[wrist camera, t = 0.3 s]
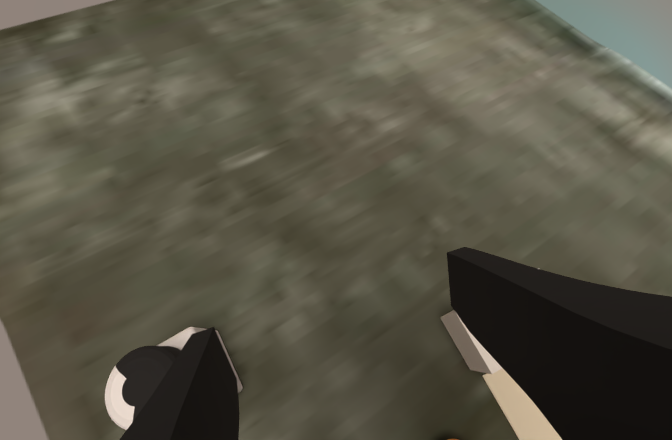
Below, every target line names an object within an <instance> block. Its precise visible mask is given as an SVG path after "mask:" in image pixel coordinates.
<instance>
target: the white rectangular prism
mask: <svg viewBox="0 0 672 440" xmlns="http://www.w3.org/2000/svg"><path fill="white" fill-rule="evenodd" d="M538 269H539V268H538ZM440 318H441V320H442V322H443V324H444V325H445V327H446V329H447V331H448V332H449V334H450V336H451V338H452V339H453V341H454V343H455V345H456V346H457V348H458V350H459V351H460V353H461V355H462V357H463V358H464V360H465V362H466V364H467V365H468V367H469V369H470V370H473V371H478V372H484V373H489V374H493V373H495V372H497V371H498V370H500V369H502V367H501V366H500V365H499V364H498V363H497V361H496V360H495V359H494V358H493V357H492V356H491V355H490V354H489V353H488V352H487V351H486V350H485V348H484V347H483V346H482V345H481V344H480V343H479V342H478V341H477V340H476V339H475V337H474V336H473V335H472V334H471V333H470V332H469V330H468V329H467V328H466V326H465V325H464V323H463V322H462V321H461V319H460V318H459V316H458V315H457V313H456V312H455V310H453V311H451V312H449V313H447V314H445V315H444V316H442V317H440Z"/></svg>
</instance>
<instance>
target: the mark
mask: <svg viewBox="0 0 672 440" xmlns="http://www.w3.org/2000/svg"><path fill="white" fill-rule="evenodd" d="M482 377H483V378H484V380H485V382H486V384H487V385H488V387H489V389H490V391H491V392H492V394H493V396H494V397H495V399H496V401H497V403H498V404H499V406H500V408H501V409H502V411H503V413H504V415H505V416H506V418H507V420H508V421H509V423H510V425H511V427H512V428H513V430H514V432H515V434H516V435H517V437H518V439H519V440H562V439H561V437H560V436H559V435H558V433H557V432H556V431H555V429H554V428H553V427H552V426H551V424H550V423H549V422H548V420H547V419H546V418H545V416H544V415H543V414H542V413H541V411H540V410H539V409H538V407H537V406H536V405H535V404H534V402H533V401H532V400H531V399H530V398H529V397H528V395H527V394H526V393H525V392H524V391H523V390H522V389H521V387H520V386H519V385H518V384H517V383H516V382H515V381H514V380H513V379H512V378H511V377H510V376H509V374H508V373H507V372H506V371H505V370H504V369H503V368H502V369H500V370H498V371H497V372H495V373H493V374H489V373H486V374H484V375H482Z"/></svg>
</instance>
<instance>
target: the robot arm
mask: <svg viewBox="0 0 672 440" xmlns="http://www.w3.org/2000/svg"><path fill="white" fill-rule="evenodd" d="M447 260H448V272H449V285H450V297H451V306H452V307H453V309H454V310H455V312H456V313H457V315H458V316H459V318H460V319H461V321H462V322H463V323H464V325H465V326H466V328H467V329H468V330H469V332H470V333H471V334H472V335H473V336H474V337H475V339H476V340H477V341H478V342H479V343H480V344H481V345H482V346H483V347H484V348H485V350H486V351H487V352H488V353H489V354H490V355H491V356H492V357H493V358H494V359H495V360H496V361H497V363H498V364H499V365H500V366H501V367H502V368H503V369H504V370H505V371H506V372H507V373H508V374H509V376H510V377H511V378H512V379H513V380H514V381H515V382H516V383H517V384H518V385H519V386H520V387H521V389H522V390H523V391H524V392H525V393H526V394H527V395H528V397H529V398H530V399H531V400H532V401H533V402H534V404H535V405H536V406H537V407H538V409H539V410H540V411H541V413H542V414H543V415H544V416H545V418H546V419H547V420H548V422H549V423H550V424H551V426H552V427H553V428H554V429H555V431H556V432H557V433H558V435H559V436H560V437H561V439H562V440H672V297H670V296H662V295H655V294H648V293H642V292H636V291H630V290H625V289H620V288H615V287H610V286H605V285H599V284H595V283H590V282H586V281H581V280H577V279H574V278H570V277H566V276H562V275H558V274H554V273H551V272H547V271H544V270H540V269H537V268H533V267H530V266H527V265H523V264H520V263H517V262H514V261H511V260H507V259H504V258H501V257H498V256H495V255H492V254H488V253H485V252H482V251H478V250H475V249H471V248H467V247H463V248H460V249H457V250H454V251H451V252H448V253H447ZM238 433H239V400H238V387H237V378H236V376H235V374H234V372H233V369H232V367H231V365H230V362H229V360H228V358H227V356H226V353H225V351H224V349H223V347H222V344H221V342H220V340H219V338H218V335H217V333H216V331H215V328H214V327H212V328H209V329H206V330H203V331H200V332H197V333H194V334H192V335H191V336H190V338H189V339H188V341H187V342H186V344H185V345H184V347H183V348H182V350H181V351H180V353H179V355H178V356H177V358H176V359H175V361H174V362H173V364H172V365H171V367H170V369H169V370H168V372H167V373H166V375H165V376H164V378H163V379H162V381H161V382H160V384H159V385H158V387H157V388H156V390H155V391H154V393H153V394H152V396H151V397H150V399H149V400H148V401H147V403H146V404H145V405H144V407H143V408H142V410H141V411H140V412H139V414H138V415H137V417H136V418H135V419H134V421H133V422H132V423H131V425H130V426H129V428H128V429H127V430H126V432H125V433H124V434H123V436H122V437H121V438H120V440H238Z"/></svg>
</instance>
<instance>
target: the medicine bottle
mask: <svg viewBox="0 0 672 440" xmlns="http://www.w3.org/2000/svg"><path fill="white" fill-rule="evenodd" d="M203 330H206V328H198V327H189V328H187V329H185V330H183V331H182V332H180V333H178V334H176V335H175V336H173V337H171V338H169V339H168V340H166V341H164V342H162V343H161V344H159V345H157V346H144V347H140V348H137V349H135V350H133V351H131V352H129V353H128V354H127V355H125V356H124V357H123V358H122V359H121V360H120V361H119V362H118V363H117V364H116V366H115V367H114V369H113V370H112V372H111V374H110V376H109V378H108V381H107V385H106V390H105V403H106V408H107V411H108V413H109V416H110V417H111V419H112V420H113V421H114V422H115V423H116V424H117V425H118V426H120V427H121V428H123V429H126V430H127V429H128V428H129V426H130V425H131V423H132V422H133V421H134V419H135V418H136V417H137V415H138V414H139V412H140V411H141V410H142V408H143V407H144V405H145V404H146V403H147V401H148V400H149V399H150V397H151V396H152V394H153V393H154V391H155V390H156V388H157V387H158V385H159V384H160V382H161V381H162V379H163V378H164V376H165V375H166V373H167V372H168V370H169V369H170V367H171V365H172V364H173V362H174V361H175V359H176V358H177V356H178V355H179V353H180V351H181V350H182V348H183V347H184V345H185V344H186V342H187V341H188V339H189V338H190V336H191V335H192V334H194V333H197V332H200V331H203ZM215 331H216V333H217V335H218V338H219V340H220V342H221V344H222V347H223V349H224V351H225V353H226V356H227V358H228V360H229V362H230V365H231V367H232V369H233V372H234V374H235V376H236V378H237V387H238V393H239V392H241V391H242V389H243V386H242V384H241V382H240V380H239V377H238V375H237V373H236V371H235V368H234V366H233V364H232V361H231V359H230V357H229V355H228V352H227V350H226V348H225V346H224V343H223V341H222V339H221V337H220V334H219V332H218V331H217V330H215Z"/></svg>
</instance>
